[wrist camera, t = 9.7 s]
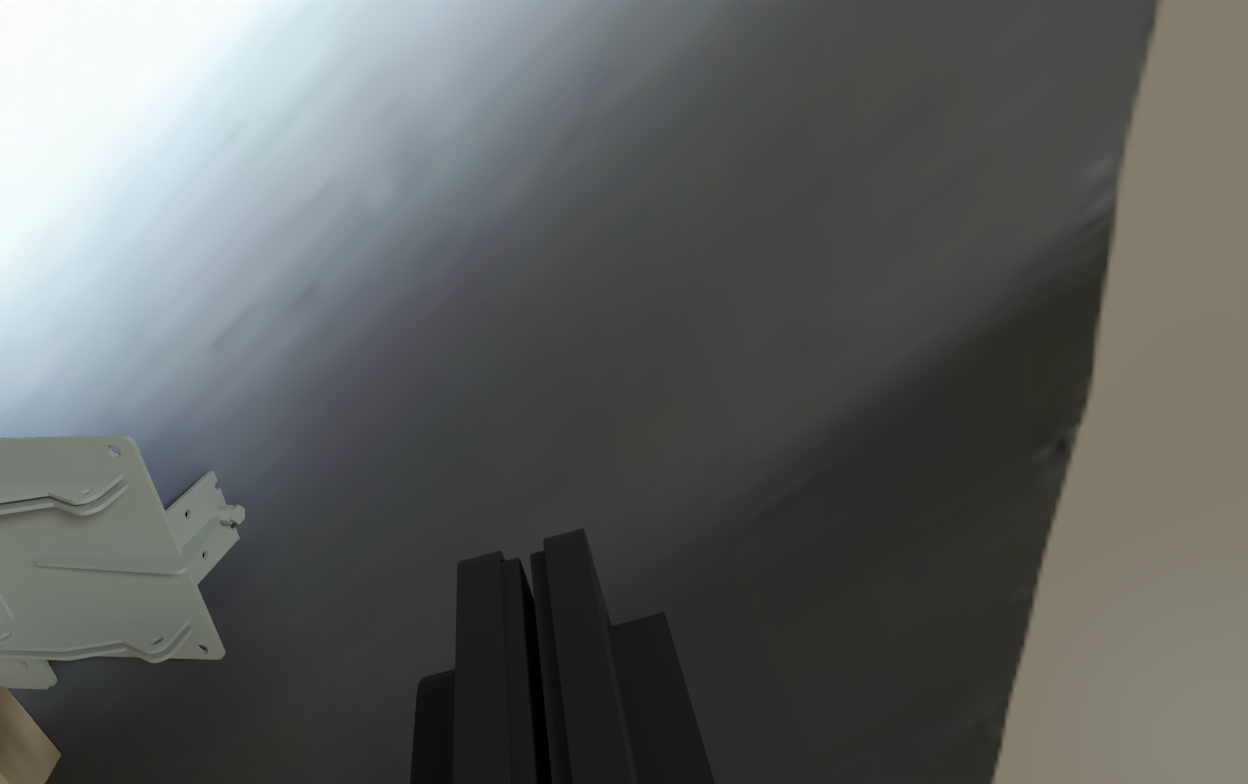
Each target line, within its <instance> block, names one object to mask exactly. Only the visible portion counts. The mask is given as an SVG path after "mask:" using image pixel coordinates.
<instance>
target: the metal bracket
mask: <svg viewBox="0 0 1248 784" xmlns="http://www.w3.org/2000/svg"><path fill="white" fill-rule="evenodd" d="M111 445H114V446H116V447H117V448H118V449H119V450H120V452H121V455H118V454H116V453H114V452H113V451H112V450H111ZM216 482H218V481H217V479H216V476H215V474H214V471H213V470H211V471H208V472H207V473H206V474H205V475H204V476H202V477H201V478H200V479H199V480H198V481H197V482H196V483H195V484H194V485H193V486H192V487H191V488H190V489H188V490H187V491H186V492H185V493H184V494H183V495H182V496H181V497H180V498H179V499H178V500H177V501H175V502H174V503H173V504H172V505H171V506H170V507H169V508H168V509H167V510H166V511H165V509H164V507H163V505H162V502H161V500H160V498H159V495H158V493H157V491H156V488H155V486H154V484H153V481H152V479H151V477H150V474H149V472H148V470H147V468H146V465H145V463H144V461H143V458H142V456H141V454H140V451H139V449H138V447H137V444H136V442H135V441H134V440H133V439H132V438H131V437H129V436H125V435H116V436H76V437H36V438H0V686H2V687H4V688H19V689H48V688H49V687H51V686H54V685H55V684H56V683H57V681H58V680H57V677H56V675H55V674H54V672H53V670H52V668H51V667H50V665H49V663H48V661H47V660H66V661H67V660H75V659H82V658H88V657H94V656H107V657H139V658H141V659H144V660H146V661H148V662H150V663H158V662H162V661H164V660H166V659H168V658H177V659H212V660H219V659H222V657H223V656H224V655H225V649H224V647H223V645H222V642H221V640H220V638H219V635H218V633H217V631H216V628H215V626H214V624H213V621H212V619H211V617H210V614H209V612H208V610H207V607H206V605H205V603H204V600H203V598H202V596H201V593H200V591H199V589H198V586H197V585H198V584H199V583H200V581H201V580H202V579H203V578H204V577H205V576H206V575H207V574H208V573H209V571H210V570H211V569H212V568H213V567H214V566H215V565H216V564H217V563H218V561H219V560H220V559H221V558H222V557H223V556H224V555H225V554H226V553H227V551H228V550H229V549H230V548H231V547H232V546H233V545H234V544H235V543H236V541H237V540H238V539H239V535H238V533H237V530H236V528H231V524H233V523H234V522H235V523H236V524H240V523H241V522H242V521H243V520H244V519H245V509H244V508H243V507H242V506H240V505H237V506H236V507H234V506H233V505H226V502H225V499H224V497H223V494H222V492H221V489H220V488H218V489H215V483H216ZM186 511H187V513H188V515H187V517H186V516H185V513H186ZM203 552H204V558H203V556H202V555H203ZM199 645H203V646H205V647H206V648H207V649H208V651H204V650H202V649H201V648H200V647H199Z"/></svg>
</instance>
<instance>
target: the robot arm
mask: <svg viewBox="0 0 1248 784" xmlns="http://www.w3.org/2000/svg"><path fill="white" fill-rule="evenodd" d="M543 542H544V551H540V552H536V553H532V554H531V555H530V560H531V571H532V581H533V591H534V599H533V596H532V593H531V590H530V587H529V584H528V581H527V578H526V575H525V572H524V569H523V566H522V564H521V561H520V559H519V558H518V557H517V558H514V559H510V560H506V561H505V559H504V556H503V554H502V553H501V551H497V552H493V553H489V554H485V555H482V556H478V557H474V558H470V559H466V560H463V561H459V563H458V569H457V612H456V656H455V669H453V670H449V671H446V672H442V673H438V674H435V675H431V676H427V677H424V678H421V680H420V682H419V684H418V690H417V698H416V711H415V725H414V739H413V752H412V766H411V779H410V784H715V783H714V779H713V776H712V773H711V769H710V766H709V762H708V759H707V755H706V752H705V749H704V745H703V742H702V738H701V735H700V732H699V728H698V725H697V721H696V718H695V715H694V711H693V708H692V704H691V701H690V697H689V694H688V691H687V687H686V684H685V680H684V677H683V674H682V670H681V667H680V663H679V660H678V656H677V653H676V650H675V646H674V643H673V639H672V636H671V633H670V629H669V626H668V623H667V619H666V616H665V613H664V612H663V613H659V614H656V615H652V616H648V617H645V618H641V619H637V620H634V621H630V622H626V623H623V624H619V625H615V626H612V625H611V621H610V618H609V614H608V611H607V607H606V604H605V600H604V597H603V593H602V590H601V586H600V583H599V579H598V576H597V572H596V569H595V565H594V562H593V558H592V555H591V551H590V548H589V544H588V541H587V538H586V534H585V531H584V529H580V530H576V531H572V532H568V533H564V534H561V535H557V536H553V537H549V538H546V539H544V541H543Z"/></svg>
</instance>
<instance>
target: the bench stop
mask: <svg viewBox="0 0 1248 784" xmlns="http://www.w3.org/2000/svg"><path fill="white" fill-rule="evenodd" d="M60 756H61V753H60V752H59V751H58V750H57V748H56V747H55V746H54V745H53V743H52V742H51V741H50V740H49V739H48V737H47V736H46V735H45V734H44V732H43V731H42V730H41V729H40V728H39V726H38V725H37V724H36V723H35V721H34V720H33V719H32V718H31V717H30V715H29V714H28V713H27V712H26V710H25V709H24V708H23V707H22V706H21V704H20V703H19V702H18V701H17V699H16V698H15V697H14V696H13V695H12V693H11V692H10V691H9V690H8V688H4V687H2V686H0V784H45V783H46V781H47V779H48V777H49V776H50V774H51V772H52V770H53V769H54V767H55V765H56V763H57V761H58V760H59V758H60Z"/></svg>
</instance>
